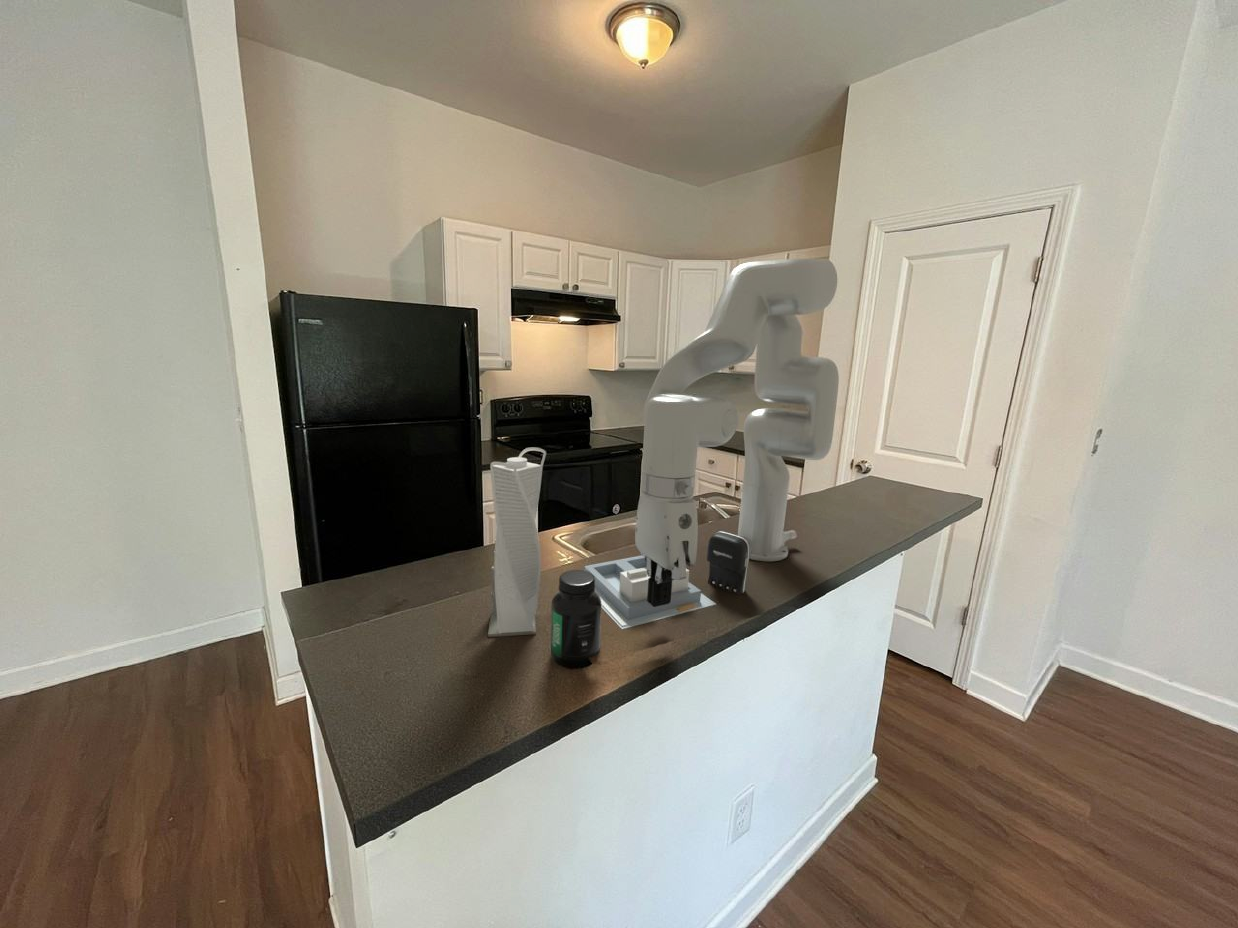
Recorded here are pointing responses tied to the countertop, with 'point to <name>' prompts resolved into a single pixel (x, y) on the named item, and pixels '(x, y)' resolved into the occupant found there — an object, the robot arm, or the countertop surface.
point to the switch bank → (642, 610)
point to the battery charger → (728, 561)
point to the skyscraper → (515, 546)
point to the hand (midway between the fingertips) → (658, 602)
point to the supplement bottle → (575, 620)
